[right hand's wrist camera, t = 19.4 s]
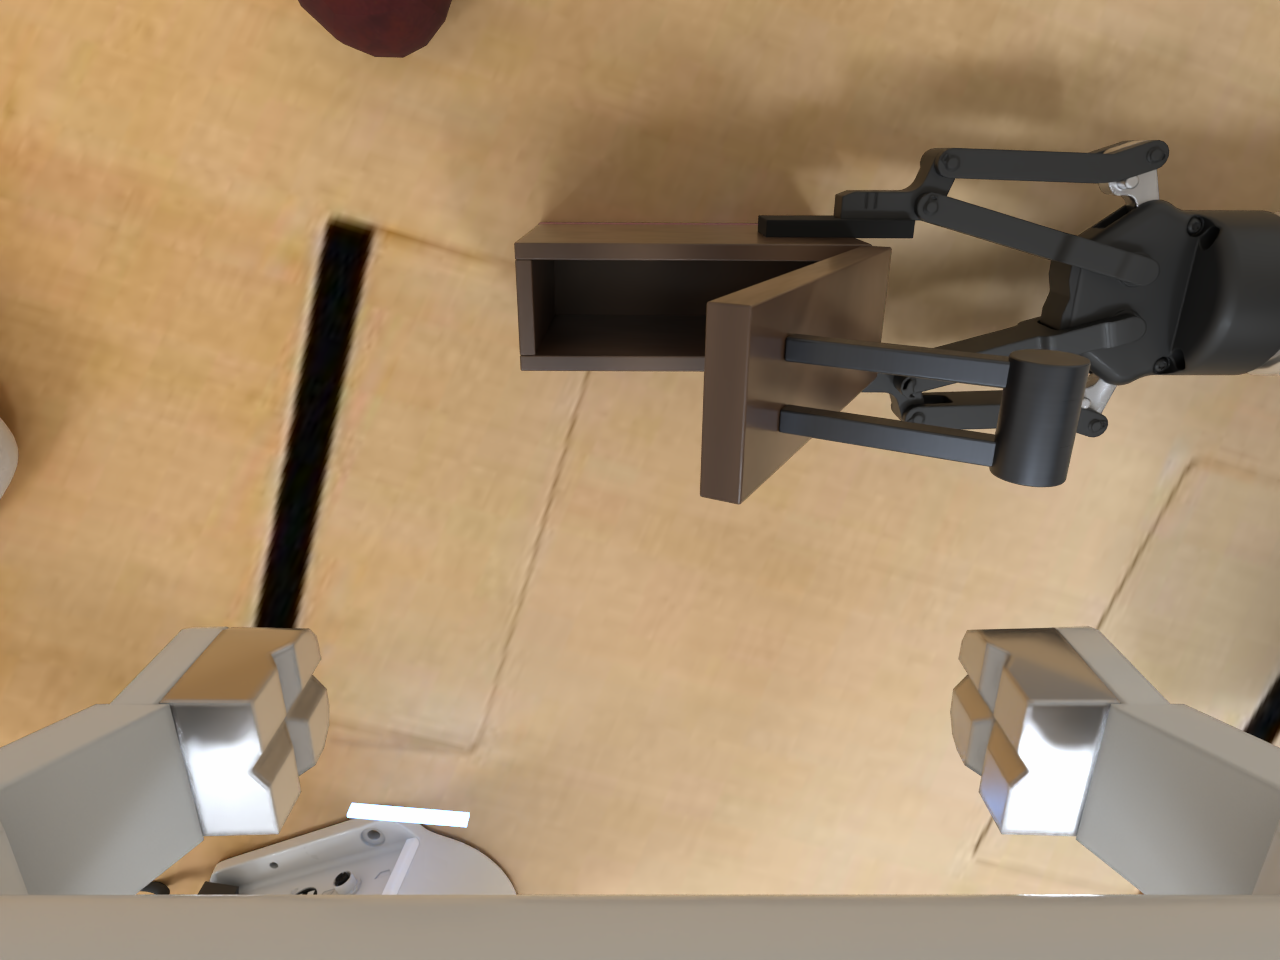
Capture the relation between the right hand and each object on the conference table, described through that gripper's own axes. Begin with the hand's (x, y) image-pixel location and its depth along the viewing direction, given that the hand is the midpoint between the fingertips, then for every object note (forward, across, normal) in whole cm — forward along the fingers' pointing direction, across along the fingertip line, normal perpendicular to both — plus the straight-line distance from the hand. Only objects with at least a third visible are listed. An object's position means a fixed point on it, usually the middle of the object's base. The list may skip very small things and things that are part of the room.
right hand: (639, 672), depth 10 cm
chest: (+36, -2, 0) cm, 36 cm away
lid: (+19, -5, 0) cm, 20 cm away
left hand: (+30, -6, 0) cm, 31 cm away
